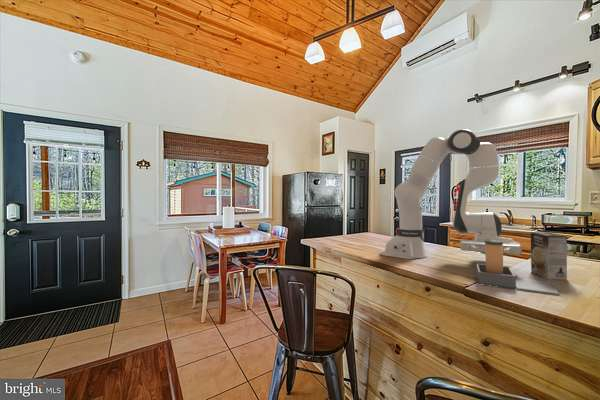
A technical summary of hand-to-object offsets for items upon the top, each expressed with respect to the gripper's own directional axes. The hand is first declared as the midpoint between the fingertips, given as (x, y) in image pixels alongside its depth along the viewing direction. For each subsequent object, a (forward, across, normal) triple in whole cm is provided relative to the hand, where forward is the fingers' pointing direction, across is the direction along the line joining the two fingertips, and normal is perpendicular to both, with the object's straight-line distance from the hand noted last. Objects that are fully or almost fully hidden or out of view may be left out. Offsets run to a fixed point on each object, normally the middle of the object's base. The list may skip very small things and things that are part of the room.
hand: (490, 250), depth 97 cm
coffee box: (-8, +18, +10) cm, 22 cm away
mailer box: (+9, +5, +9) cm, 14 cm away
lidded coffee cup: (+9, 0, +9) cm, 12 cm away
